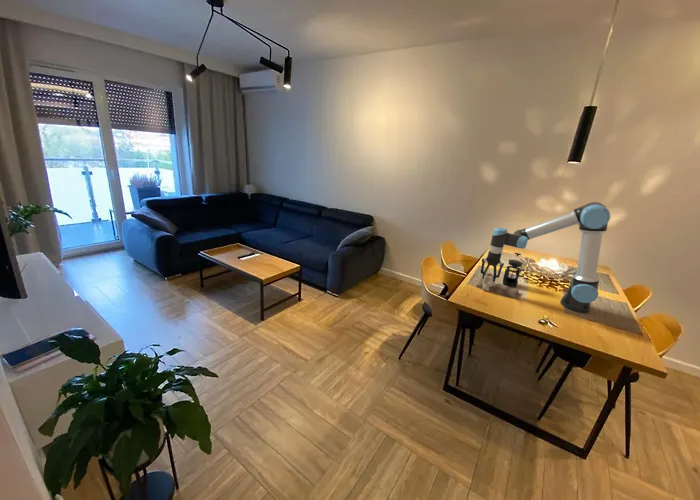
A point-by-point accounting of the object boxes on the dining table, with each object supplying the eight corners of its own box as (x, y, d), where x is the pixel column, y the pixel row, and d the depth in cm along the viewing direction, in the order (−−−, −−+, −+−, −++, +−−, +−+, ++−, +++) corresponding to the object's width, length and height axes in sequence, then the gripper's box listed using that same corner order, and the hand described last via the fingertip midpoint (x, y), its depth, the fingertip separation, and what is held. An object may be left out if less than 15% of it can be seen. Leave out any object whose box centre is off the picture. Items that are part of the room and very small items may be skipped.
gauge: (490, 287, 204) (494, 273, 200) (488, 291, 198) (491, 276, 194) (484, 285, 206) (488, 271, 203) (481, 289, 200) (485, 274, 196)
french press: (510, 280, 218) (518, 250, 210) (521, 286, 210) (529, 255, 202) (497, 281, 214) (505, 251, 206) (507, 288, 206) (516, 256, 198)
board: (518, 292, 200) (518, 289, 200) (515, 299, 191) (516, 296, 190) (480, 281, 213) (480, 278, 212) (475, 287, 204) (476, 284, 203)
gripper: (510, 253, 192) (502, 287, 200) (482, 247, 201) (475, 279, 209) (508, 256, 186) (499, 290, 194) (479, 250, 195) (472, 282, 203)
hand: (487, 284), depth 201 cm, fingers closed on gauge, 4 cm apart
